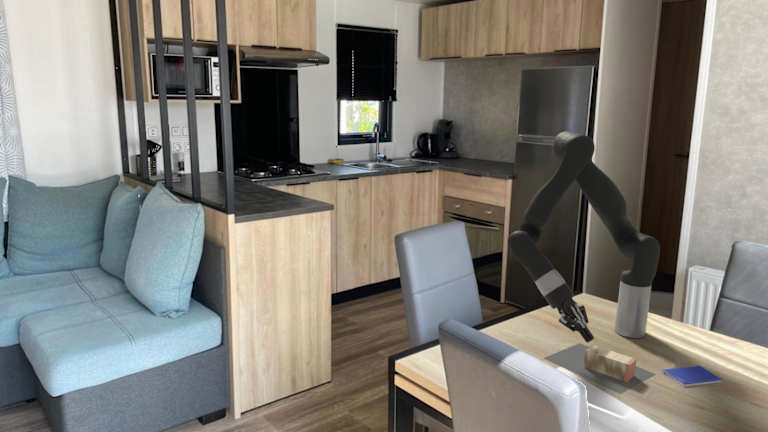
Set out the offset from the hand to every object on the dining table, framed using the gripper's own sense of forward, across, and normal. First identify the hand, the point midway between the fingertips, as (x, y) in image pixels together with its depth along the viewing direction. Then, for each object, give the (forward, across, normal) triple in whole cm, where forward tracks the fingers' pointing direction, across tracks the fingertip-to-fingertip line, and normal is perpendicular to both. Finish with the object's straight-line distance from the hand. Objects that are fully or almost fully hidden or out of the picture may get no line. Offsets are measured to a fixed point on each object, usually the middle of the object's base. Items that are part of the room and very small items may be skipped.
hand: (590, 340), depth 159 cm
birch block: (+3, 0, +4) cm, 5 cm away
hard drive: (+22, +14, -10) cm, 29 cm away
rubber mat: (+7, +1, +4) cm, 8 cm away
